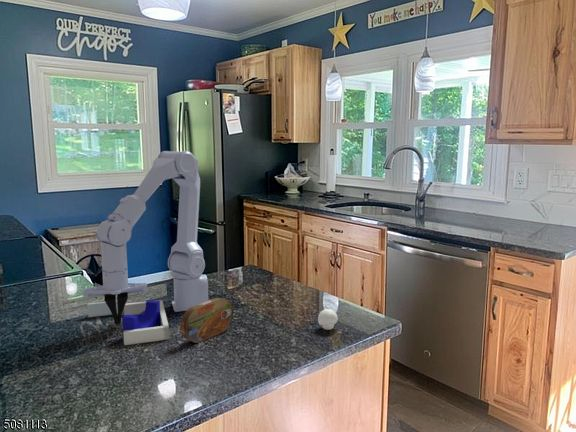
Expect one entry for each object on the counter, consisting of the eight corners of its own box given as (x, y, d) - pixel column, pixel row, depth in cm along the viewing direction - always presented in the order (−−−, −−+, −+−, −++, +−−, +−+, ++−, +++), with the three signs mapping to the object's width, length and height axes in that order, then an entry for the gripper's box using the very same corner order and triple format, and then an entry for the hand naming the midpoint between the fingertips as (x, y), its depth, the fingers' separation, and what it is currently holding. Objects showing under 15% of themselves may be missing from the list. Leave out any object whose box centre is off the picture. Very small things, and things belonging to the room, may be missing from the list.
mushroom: (323, 333, 107) (324, 314, 106) (314, 326, 111) (314, 307, 110) (341, 330, 109) (341, 311, 108) (331, 323, 113) (331, 305, 112)
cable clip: (144, 321, 114) (143, 299, 113) (160, 323, 113) (159, 301, 112) (117, 340, 102) (116, 316, 101) (135, 342, 101) (134, 318, 101)
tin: (187, 348, 98) (186, 312, 97) (178, 344, 100) (177, 309, 99) (234, 327, 110) (234, 295, 109) (225, 324, 112) (225, 292, 111)
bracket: (162, 309, 122) (162, 299, 121) (169, 339, 103) (168, 327, 102) (124, 314, 118) (123, 303, 118) (124, 345, 99) (123, 332, 99)
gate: (122, 314, 119) (121, 299, 118) (88, 318, 116) (87, 303, 115) (122, 312, 119) (122, 298, 119) (88, 316, 116) (87, 302, 116)
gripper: (80, 276, 100) (84, 332, 102) (147, 270, 105) (149, 324, 107) (83, 268, 107) (86, 321, 108) (145, 263, 112) (147, 314, 113)
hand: (117, 322), depth 108 cm, fingers closed
